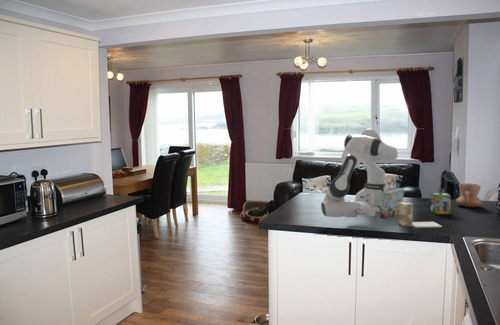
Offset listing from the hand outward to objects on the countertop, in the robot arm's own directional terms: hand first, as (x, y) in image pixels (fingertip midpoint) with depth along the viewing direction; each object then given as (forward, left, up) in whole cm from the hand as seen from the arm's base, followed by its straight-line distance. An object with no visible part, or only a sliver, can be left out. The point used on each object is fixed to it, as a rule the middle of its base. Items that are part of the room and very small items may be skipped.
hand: (378, 208), depth 212 cm
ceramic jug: (+28, +81, -9) cm, 86 cm away
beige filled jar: (+11, +10, -9) cm, 17 cm away
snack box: (-3, +29, -10) cm, 30 cm away
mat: (+19, +16, -9) cm, 27 cm away
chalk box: (+18, +52, -9) cm, 56 cm away
